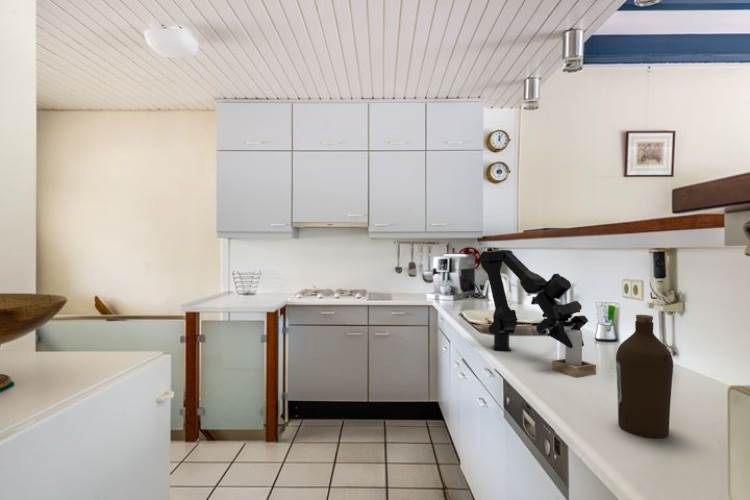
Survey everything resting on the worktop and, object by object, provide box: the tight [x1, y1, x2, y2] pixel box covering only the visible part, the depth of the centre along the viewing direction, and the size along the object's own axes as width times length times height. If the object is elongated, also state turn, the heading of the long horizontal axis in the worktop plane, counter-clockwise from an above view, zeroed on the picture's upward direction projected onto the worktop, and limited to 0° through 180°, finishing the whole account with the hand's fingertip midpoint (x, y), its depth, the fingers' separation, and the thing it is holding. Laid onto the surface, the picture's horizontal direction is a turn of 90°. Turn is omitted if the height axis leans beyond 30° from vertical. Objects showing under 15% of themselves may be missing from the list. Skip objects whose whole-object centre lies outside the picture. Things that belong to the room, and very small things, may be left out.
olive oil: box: [615, 314, 674, 439], centre depth 93 cm, size 11×11×25 cm
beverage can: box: [564, 329, 583, 367], centre depth 136 cm, size 5×5×12 cm
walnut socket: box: [551, 358, 597, 378], centre depth 136 cm, size 9×9×3 cm
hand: (577, 346), depth 134 cm, fingers closed on beverage can, 5 cm apart
